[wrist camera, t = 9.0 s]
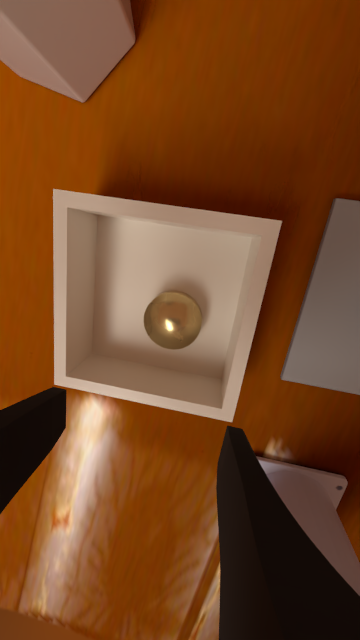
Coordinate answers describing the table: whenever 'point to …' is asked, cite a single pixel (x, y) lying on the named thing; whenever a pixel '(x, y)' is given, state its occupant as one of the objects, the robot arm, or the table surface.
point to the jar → (65, 41)
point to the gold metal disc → (173, 320)
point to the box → (144, 286)
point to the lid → (331, 309)
